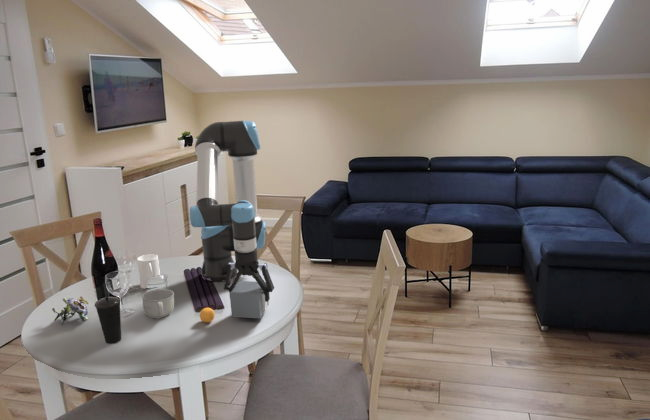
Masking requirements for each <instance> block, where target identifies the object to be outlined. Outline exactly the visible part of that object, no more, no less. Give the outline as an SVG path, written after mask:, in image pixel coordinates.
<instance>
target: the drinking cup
mask: <svg viewBox="0 0 650 420" xmlns="http://www.w3.org/2000/svg"><path fill="white" fill-rule="evenodd" d="M103 290H104V296H105V297H103V298H100V299H98V300H97V301H96V302H94V307H95V308H96V312H97V315H98V320H99V324H100V326H101V330H102V334H103V338H104V341H105V343H106V344H108V345H113V344H117V343H119V342H121V340H122V324H121V323H122V322H121V304H120V303H121V298H120V297H116V296H108V290H107V283H106V282H103Z"/></svg>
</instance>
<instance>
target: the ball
mask: <svg viewBox="0 0 650 420" xmlns="http://www.w3.org/2000/svg"><path fill="white" fill-rule="evenodd" d="M215 316H216V315H215V310H213V309H212V308H211V307H205V308H202V309H201V310H200V312H199V319H200V320H201V321H202V322H203V323H211V322H212V321H213V320H214V319H215Z"/></svg>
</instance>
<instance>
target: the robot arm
mask: <svg viewBox="0 0 650 420" xmlns="http://www.w3.org/2000/svg"><path fill="white" fill-rule="evenodd" d="M259 150H261V144H260V138H259V133H258V130H257V125H256V122H255V121H252V120H234V121H232V120H231V121H216V122H213V123H210V124H209V125H207V126H206V127H205V128H203V130H202V131H201V132H200V133H199V135H198V137H197V139H196V141H195V145H194V154H195V155H196V160H197V162H196V163H197V167H196V168H197V169H196V171H197V172H196V205H193V206H191V207H190V208H189V221H190V225H191V226H192V227H193V228H201V231H200V233H201V234H200V235H201V236H200V238H201V244H202V252H203V253H202V254H203V262H202V266H201V269H200V270H201V271H200V275H202V276H203V277H206V278H210V279H211V280H212V281H213V283H216V282H217V283H219V282H224V286H223V290H225V291H228V293H229V295H230V292H231V291H232V290H233V289H234V287H235V286H236V285H237V284H238V282H239V281H240V278H241V277H242V276H244V277H245V276H248V277H252V278H253V279H254V280H255V282H257V283H258V284H259V286H260V287H261V289H262V290H263V293H262V299H263V311H265V312H266V311H267V309H268V307H269V305H268V306H267V302H268V301H269V302H270V293H272V292H273V291H274V289H275V286H274V283H273V281H272V278H271V276H270V273H269V269H268V263H267V262H264V263H259V258H258V250H261V249H263V248H264V246H265V243H266V241H265V240H266V221H264V220H262V219H263V218H262V216H261V215H259V213H258V199H257V198H258V197H257V183H256V169H255V158H256V157H257V155H258V151H259ZM221 152H227V156H228V158H230V159H231V160H232V169H233V171H232V172H233V179H234V180H233V182H234V194H235V203H225V204H223V203H221V204H219V165H218V163H219V162H218V160H219V156H220V155H221ZM232 252H234V259H233V257H232ZM258 269H259V270H260V271H261V273H262V276H263V277H262V276H261V274H260V272H259V270H258ZM232 279H233V281H232ZM231 281H232V282H231ZM265 282H266V283H265ZM266 284H267V285H266Z"/></svg>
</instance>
